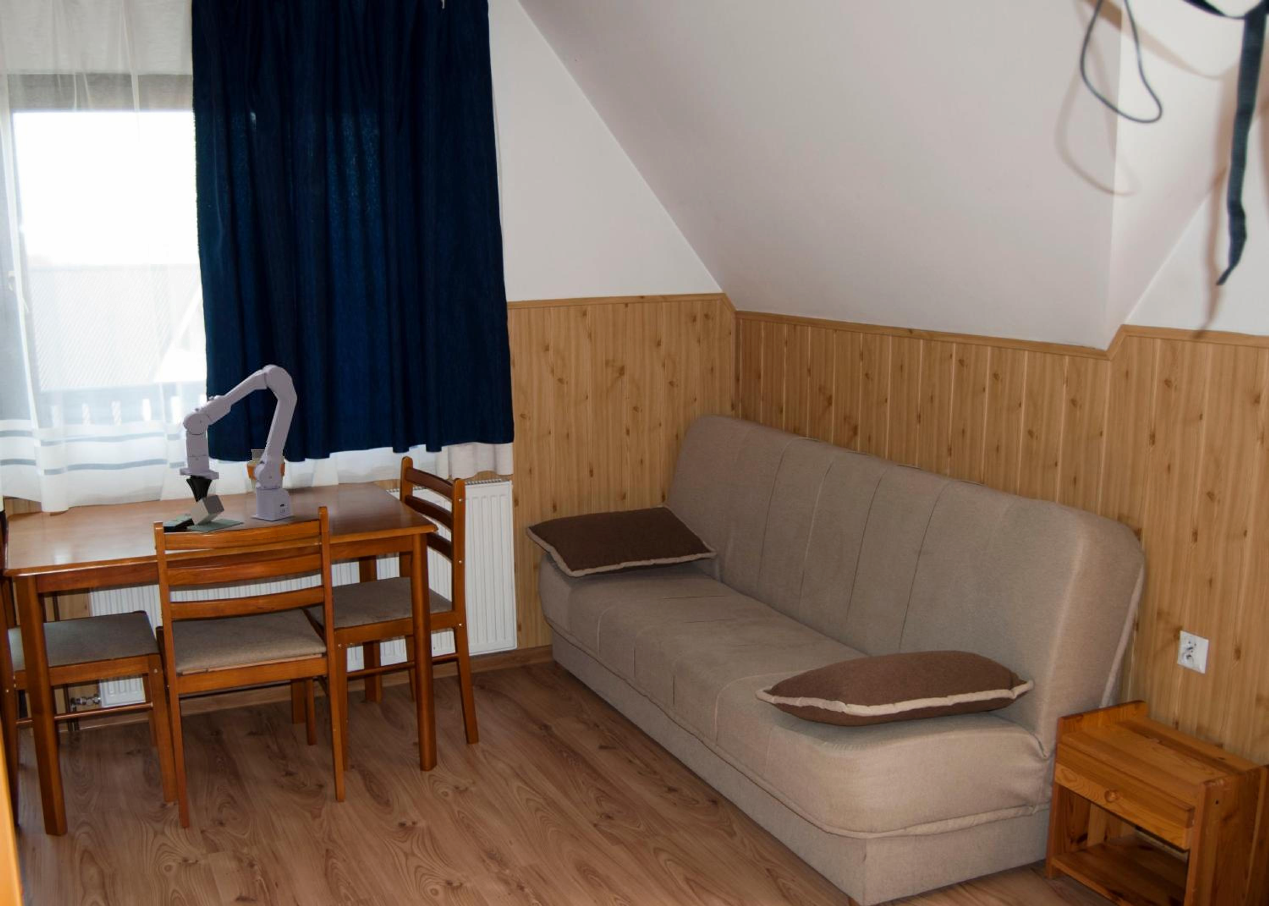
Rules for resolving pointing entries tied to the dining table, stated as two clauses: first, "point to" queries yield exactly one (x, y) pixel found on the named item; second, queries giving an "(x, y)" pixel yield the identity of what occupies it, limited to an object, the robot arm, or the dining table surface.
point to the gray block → (206, 509)
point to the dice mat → (214, 525)
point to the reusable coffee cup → (253, 463)
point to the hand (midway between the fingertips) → (201, 502)
